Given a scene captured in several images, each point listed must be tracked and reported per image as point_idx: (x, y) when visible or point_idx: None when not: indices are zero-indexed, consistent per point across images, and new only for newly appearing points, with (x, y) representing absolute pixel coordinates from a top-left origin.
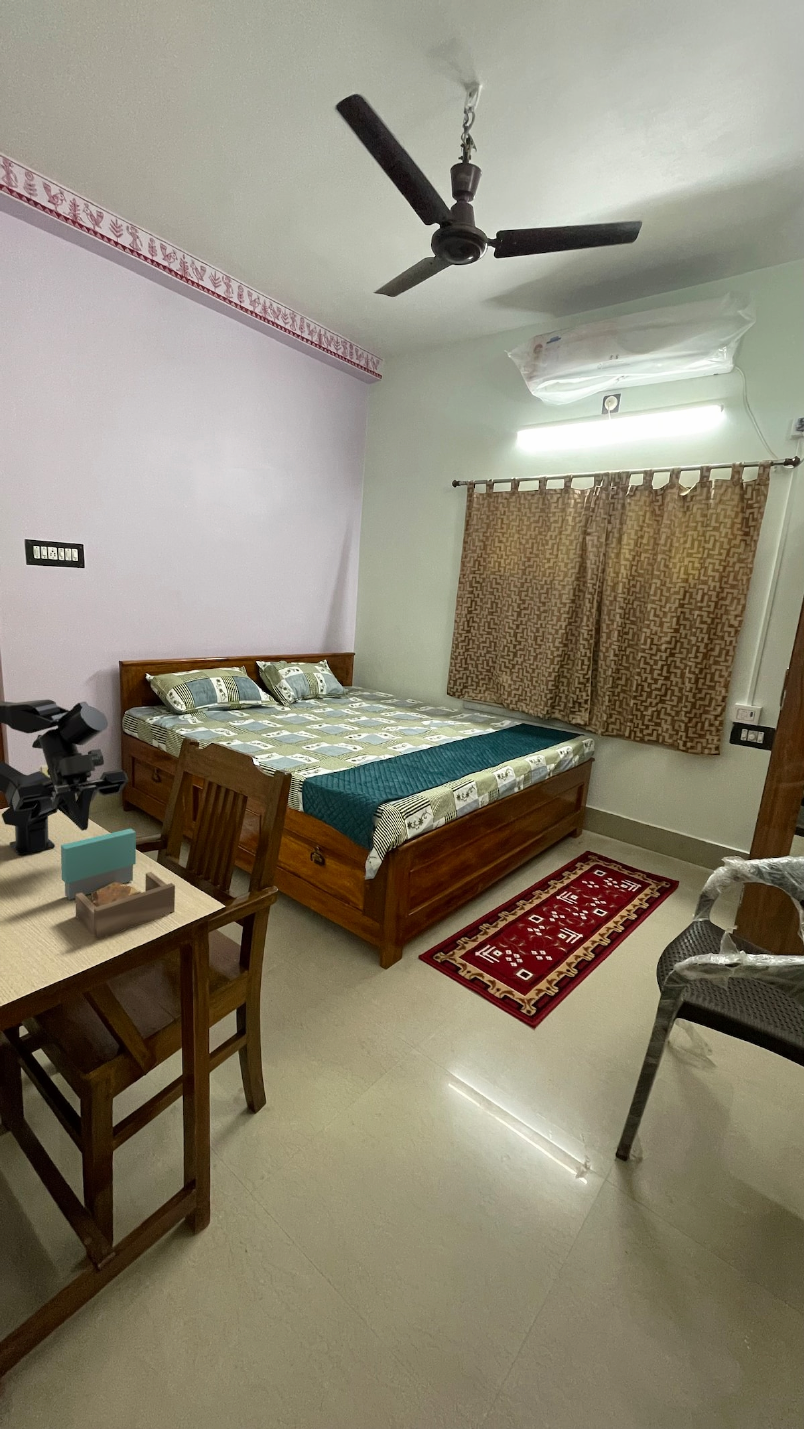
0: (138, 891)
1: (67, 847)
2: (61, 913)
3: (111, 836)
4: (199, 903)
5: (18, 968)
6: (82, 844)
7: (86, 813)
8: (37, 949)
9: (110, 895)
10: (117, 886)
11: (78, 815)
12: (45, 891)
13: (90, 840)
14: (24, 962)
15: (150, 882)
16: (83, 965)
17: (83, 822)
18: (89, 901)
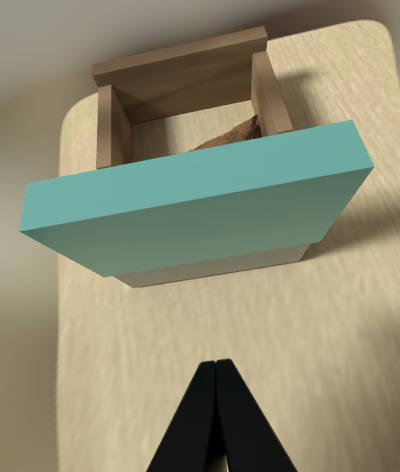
0: None
1: (341, 132)
2: None
3: (132, 175)
4: (71, 125)
5: (385, 62)
6: (271, 140)
7: (175, 458)
8: (358, 95)
9: None
10: None
11: (257, 449)
12: (347, 319)
13: (229, 167)
14: (377, 72)
15: (117, 152)
16: (289, 42)
17: (222, 387)
18: (266, 91)
